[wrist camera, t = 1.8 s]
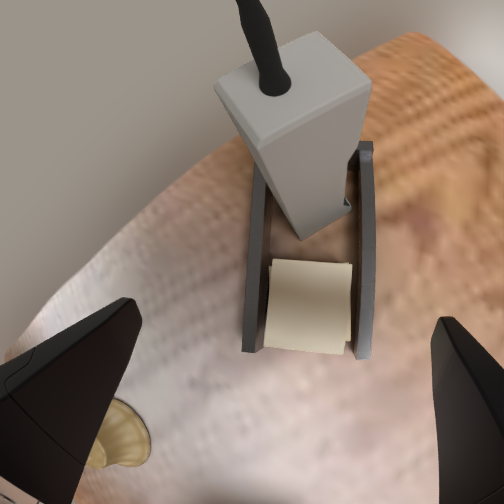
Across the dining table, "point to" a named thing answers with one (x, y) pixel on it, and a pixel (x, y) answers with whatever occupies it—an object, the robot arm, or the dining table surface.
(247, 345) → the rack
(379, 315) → the dining table surface
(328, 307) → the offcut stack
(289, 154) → the vintage mobile phone
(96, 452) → the hand bell
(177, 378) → the dining table surface
